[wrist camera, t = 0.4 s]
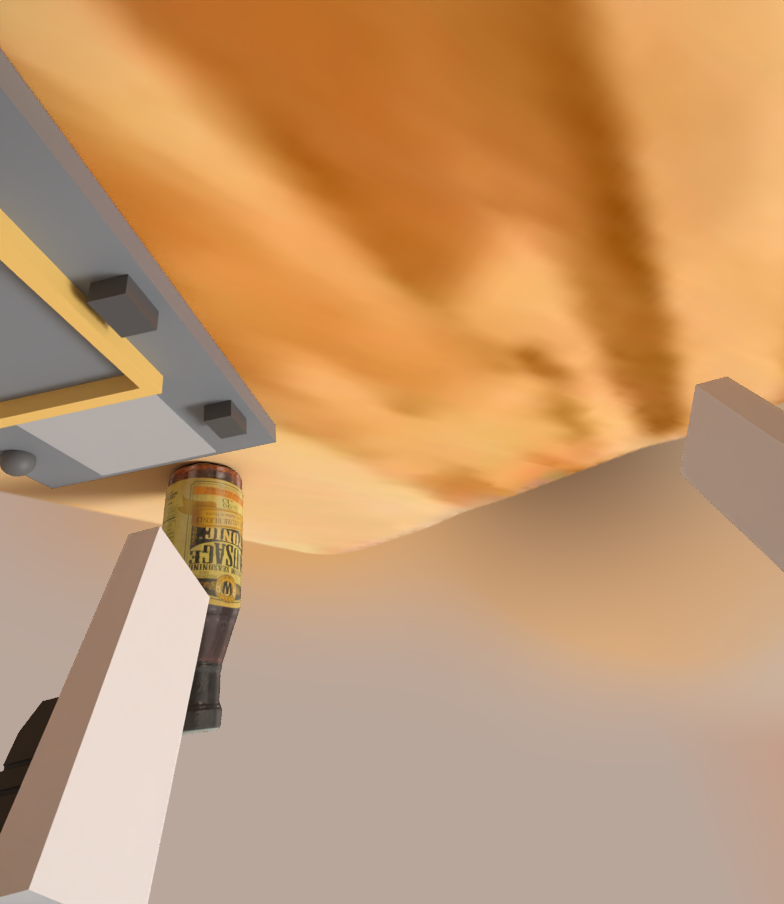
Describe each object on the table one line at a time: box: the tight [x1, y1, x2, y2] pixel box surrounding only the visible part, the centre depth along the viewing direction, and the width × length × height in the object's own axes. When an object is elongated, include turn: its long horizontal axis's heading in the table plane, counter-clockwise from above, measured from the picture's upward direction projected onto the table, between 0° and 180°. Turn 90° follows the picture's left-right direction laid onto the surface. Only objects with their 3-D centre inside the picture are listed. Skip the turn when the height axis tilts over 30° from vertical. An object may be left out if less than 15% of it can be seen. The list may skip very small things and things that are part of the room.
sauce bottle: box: [162, 463, 243, 735], centre depth 38 cm, size 7×6×20 cm
